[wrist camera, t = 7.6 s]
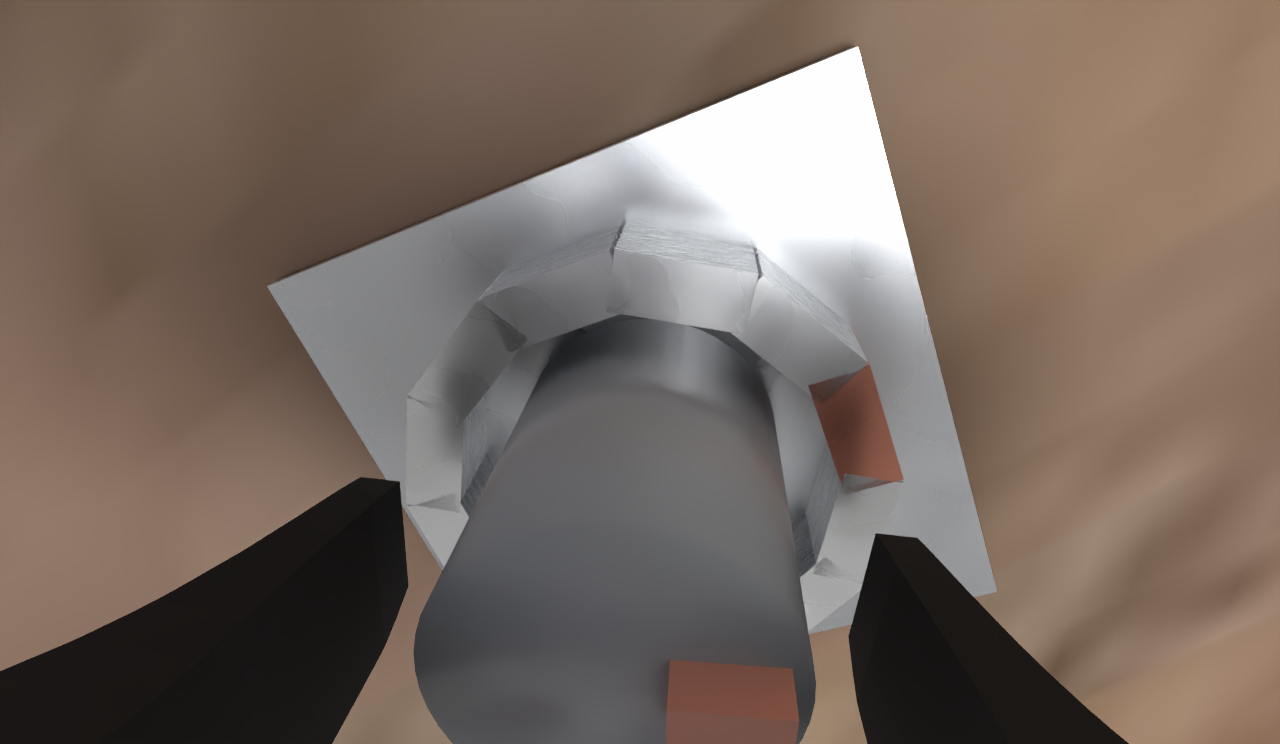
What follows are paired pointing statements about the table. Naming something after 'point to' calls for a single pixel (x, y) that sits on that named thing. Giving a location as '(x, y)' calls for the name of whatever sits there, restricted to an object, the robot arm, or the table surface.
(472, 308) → the duct collar
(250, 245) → the table surface
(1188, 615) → the table surface
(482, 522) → the grey cylinder
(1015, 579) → the table surface
